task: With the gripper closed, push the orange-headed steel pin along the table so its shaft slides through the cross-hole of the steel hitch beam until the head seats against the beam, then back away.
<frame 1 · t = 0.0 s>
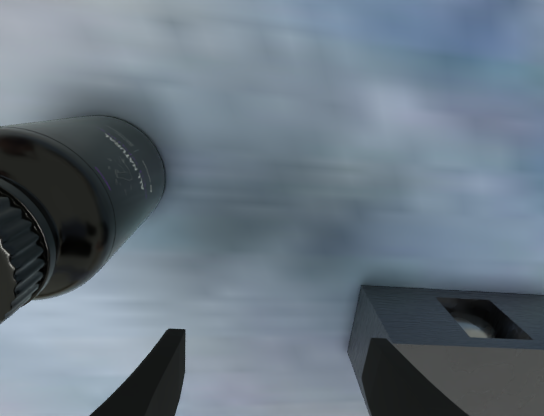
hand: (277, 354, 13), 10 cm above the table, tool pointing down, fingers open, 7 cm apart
supplement bottle: (111, 170, 20), on the table
lynch pin: (446, 394, 24), point 2 cm above the table, slide at 0.0 cm
hitch beam: (443, 324, 25), on the table
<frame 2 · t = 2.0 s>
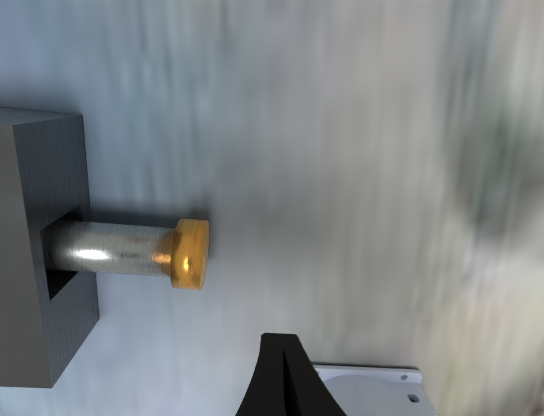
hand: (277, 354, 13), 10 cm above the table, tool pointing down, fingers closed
lynch pin: (94, 246, 19), point 3 cm above the table, slide at 0.0 cm
hitch beam: (42, 224, 21), on the table
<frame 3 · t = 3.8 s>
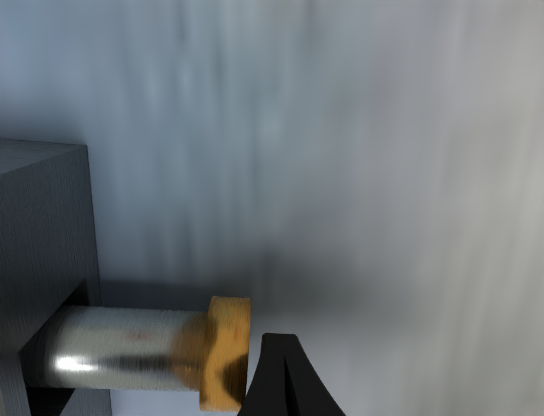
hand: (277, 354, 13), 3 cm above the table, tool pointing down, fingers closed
lynch pin: (79, 345, 12), point 2 cm above the table, slide at 1.0 cm, touching gripper
hitch beam: (30, 300, 14), on the table
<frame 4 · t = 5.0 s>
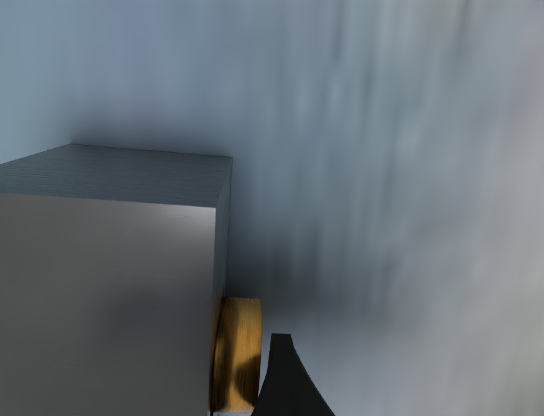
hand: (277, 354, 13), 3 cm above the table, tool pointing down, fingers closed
lynch pin: (89, 345, 12), point 3 cm above the table, slide at 6.0 cm, touching gripper, hitch beam
hitch beam: (156, 306, 15), on the table
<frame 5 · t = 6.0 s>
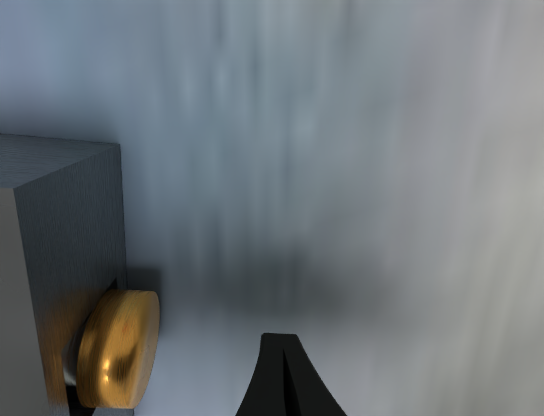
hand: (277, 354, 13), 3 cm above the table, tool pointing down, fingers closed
hitch beam: (56, 299, 14), on the table
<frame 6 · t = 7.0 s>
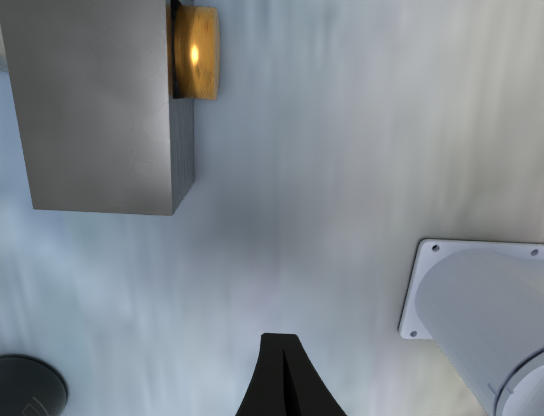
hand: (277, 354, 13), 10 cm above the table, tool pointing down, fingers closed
supplement bottle: (24, 386, 25), on the table
lynch pin: (80, 45, 15), point 3 cm above the table, slide at 6.0 cm, touching hitch beam
hitch beam: (137, 53, 18), on the table
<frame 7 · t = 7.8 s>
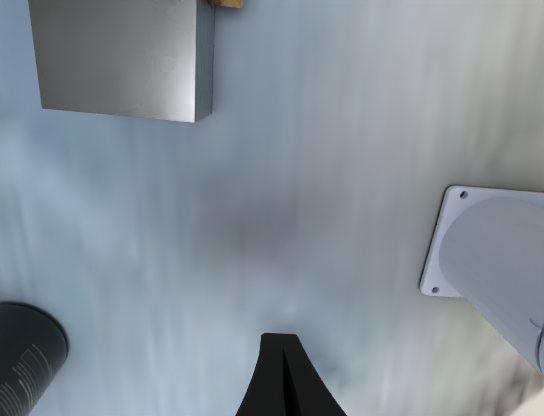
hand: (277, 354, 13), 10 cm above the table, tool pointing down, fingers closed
supplement bottle: (22, 338, 24), on the table
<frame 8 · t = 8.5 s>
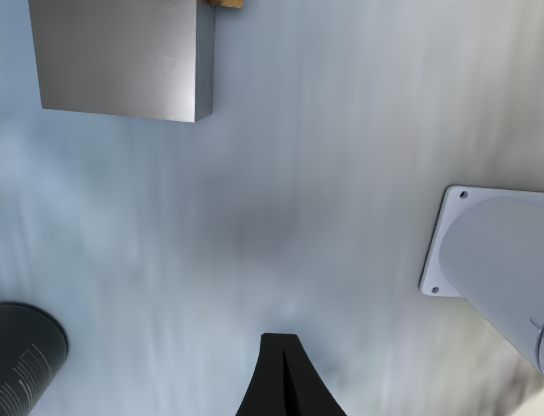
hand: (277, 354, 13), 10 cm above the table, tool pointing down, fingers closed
supplement bottle: (22, 338, 24), on the table
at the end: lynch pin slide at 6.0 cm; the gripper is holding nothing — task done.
